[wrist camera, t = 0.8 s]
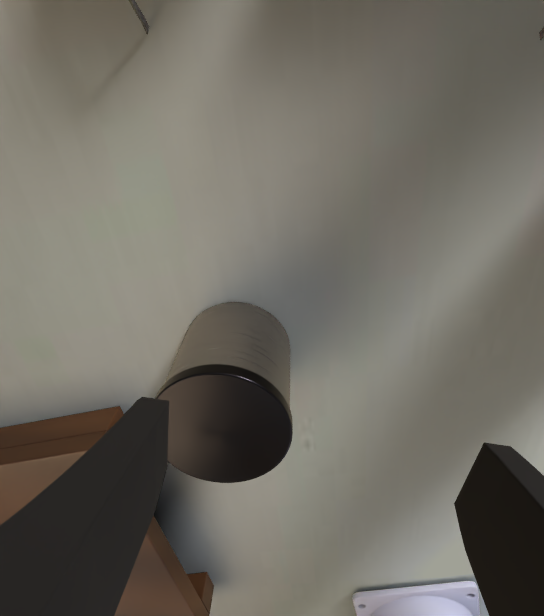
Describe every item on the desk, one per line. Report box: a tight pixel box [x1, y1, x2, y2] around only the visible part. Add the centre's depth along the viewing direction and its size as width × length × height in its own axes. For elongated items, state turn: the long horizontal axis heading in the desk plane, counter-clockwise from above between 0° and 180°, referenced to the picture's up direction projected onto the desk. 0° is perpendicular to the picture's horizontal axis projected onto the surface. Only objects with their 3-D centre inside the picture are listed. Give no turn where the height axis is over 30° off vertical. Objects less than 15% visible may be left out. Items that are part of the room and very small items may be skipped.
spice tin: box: [155, 302, 292, 483], centre depth 18 cm, size 5×5×6 cm
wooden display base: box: [0, 406, 214, 616], centre depth 24 cm, size 16×12×5 cm
